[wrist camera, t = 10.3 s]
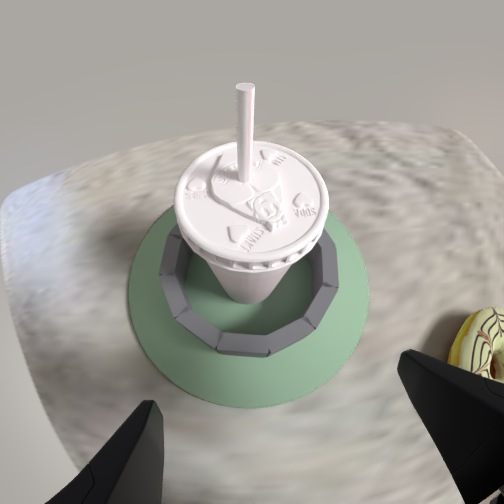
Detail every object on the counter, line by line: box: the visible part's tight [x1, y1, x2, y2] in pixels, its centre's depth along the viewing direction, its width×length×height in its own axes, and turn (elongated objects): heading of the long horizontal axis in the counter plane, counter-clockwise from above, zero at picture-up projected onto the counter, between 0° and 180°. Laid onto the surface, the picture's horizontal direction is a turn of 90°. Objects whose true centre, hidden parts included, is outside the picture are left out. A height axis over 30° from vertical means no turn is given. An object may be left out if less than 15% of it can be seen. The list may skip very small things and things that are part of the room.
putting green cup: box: [128, 206, 369, 408], centre depth 18 cm, size 18×18×3 cm
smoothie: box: [174, 83, 329, 304], centre depth 13 cm, size 6×6×14 cm
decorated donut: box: [447, 307, 504, 383], centre depth 14 cm, size 10×11×4 cm
